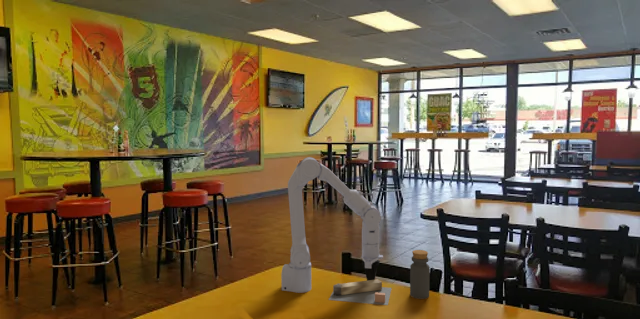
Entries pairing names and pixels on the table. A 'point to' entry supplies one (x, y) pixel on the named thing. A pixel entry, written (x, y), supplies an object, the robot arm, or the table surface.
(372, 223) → the robot arm
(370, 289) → the stool leg
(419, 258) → the bottle
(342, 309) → the table surface
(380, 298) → the leg stop
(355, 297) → the stool seat
